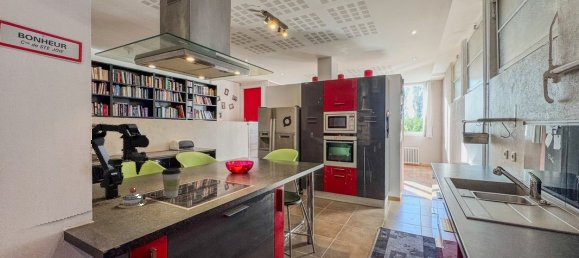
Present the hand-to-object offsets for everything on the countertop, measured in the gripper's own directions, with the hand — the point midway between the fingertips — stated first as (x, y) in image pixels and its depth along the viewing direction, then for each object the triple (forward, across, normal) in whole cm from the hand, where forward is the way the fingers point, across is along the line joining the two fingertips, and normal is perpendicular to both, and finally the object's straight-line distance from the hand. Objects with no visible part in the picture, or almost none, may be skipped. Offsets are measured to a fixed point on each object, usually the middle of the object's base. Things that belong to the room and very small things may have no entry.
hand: (129, 176), depth 132 cm
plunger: (+8, -5, -10) cm, 14 cm away
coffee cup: (+12, +13, -16) cm, 24 cm away
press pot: (+12, -5, -10) cm, 17 cm away
